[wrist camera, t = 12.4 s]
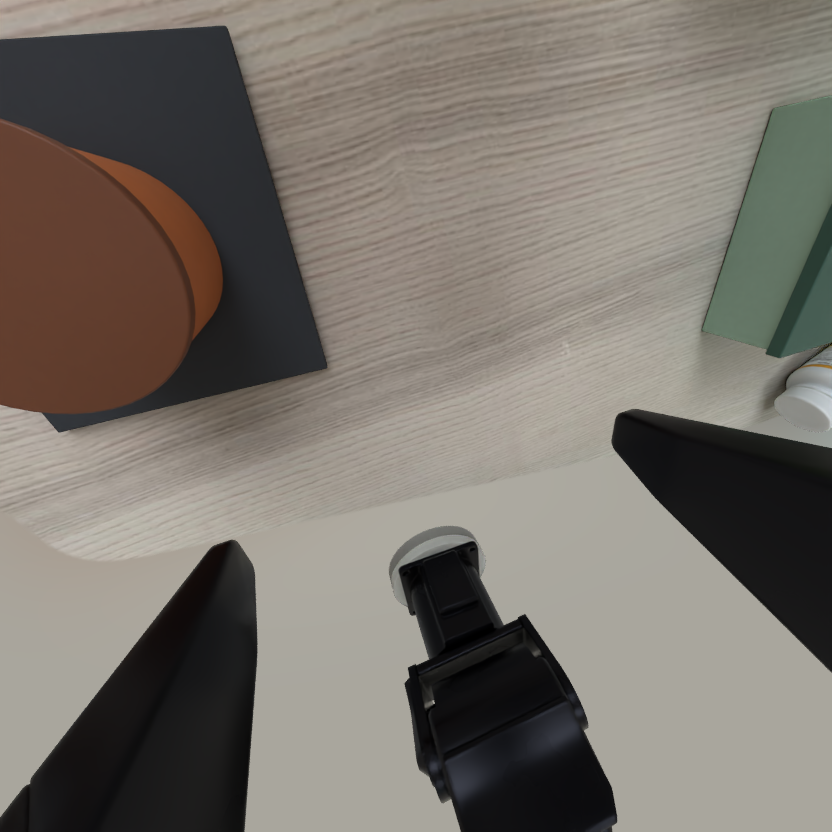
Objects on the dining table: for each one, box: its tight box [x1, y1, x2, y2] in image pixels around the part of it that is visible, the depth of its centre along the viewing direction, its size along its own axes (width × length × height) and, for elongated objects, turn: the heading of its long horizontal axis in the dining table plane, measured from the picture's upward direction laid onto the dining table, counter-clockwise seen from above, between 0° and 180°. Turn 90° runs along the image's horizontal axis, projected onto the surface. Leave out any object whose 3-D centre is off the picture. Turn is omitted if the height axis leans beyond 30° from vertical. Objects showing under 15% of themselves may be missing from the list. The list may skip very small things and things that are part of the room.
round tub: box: [0, 119, 223, 414], centre depth 11 cm, size 7×7×6 cm
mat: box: [0, 26, 327, 432], centre depth 13 cm, size 12×12×1 cm
